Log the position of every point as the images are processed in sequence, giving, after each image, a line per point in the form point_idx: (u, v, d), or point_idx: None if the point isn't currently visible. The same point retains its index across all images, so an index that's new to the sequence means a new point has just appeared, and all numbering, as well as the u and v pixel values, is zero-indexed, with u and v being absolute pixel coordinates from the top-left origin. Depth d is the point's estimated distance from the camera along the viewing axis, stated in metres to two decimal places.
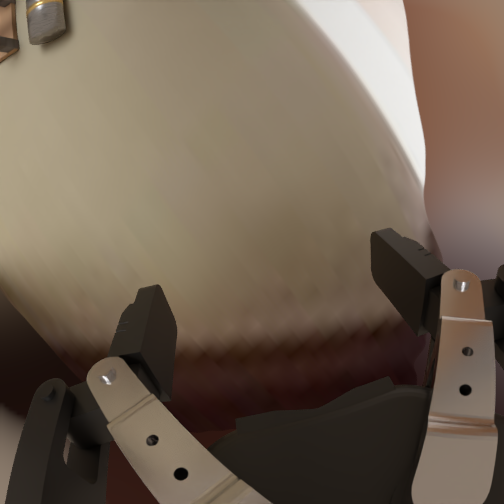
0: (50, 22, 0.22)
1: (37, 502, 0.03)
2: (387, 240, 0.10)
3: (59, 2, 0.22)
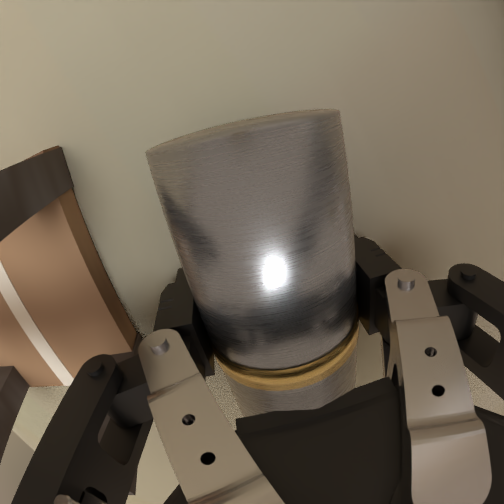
0: None
1: (59, 478, 0.04)
2: None
3: None
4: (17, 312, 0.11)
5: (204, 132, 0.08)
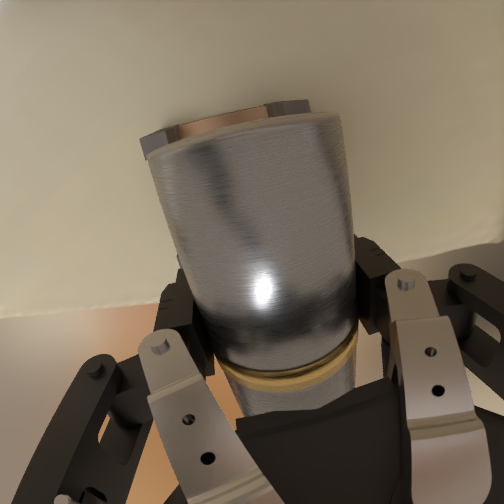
0: None
1: (59, 478, 0.04)
2: None
3: None
4: None
5: (205, 135, 0.08)
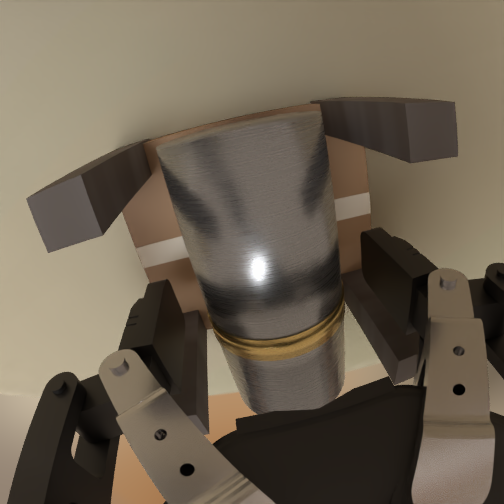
0: (335, 389, 0.12)
1: (41, 496, 0.03)
2: (376, 239, 0.10)
3: None
4: None
5: (206, 131, 0.09)
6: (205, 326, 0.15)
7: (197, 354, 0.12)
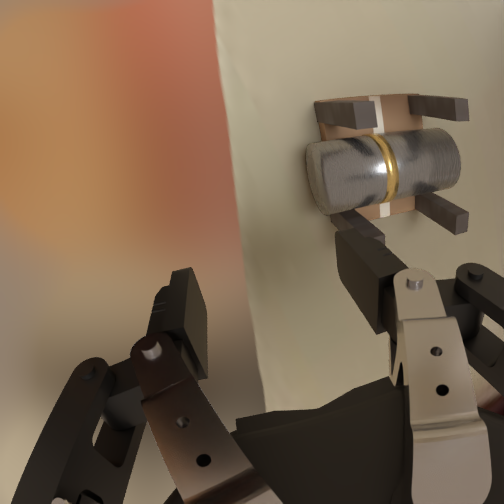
0: (340, 207, 0.19)
1: (55, 481, 0.04)
2: (348, 239, 0.10)
3: None
4: None
5: None
6: (325, 122, 0.21)
7: None
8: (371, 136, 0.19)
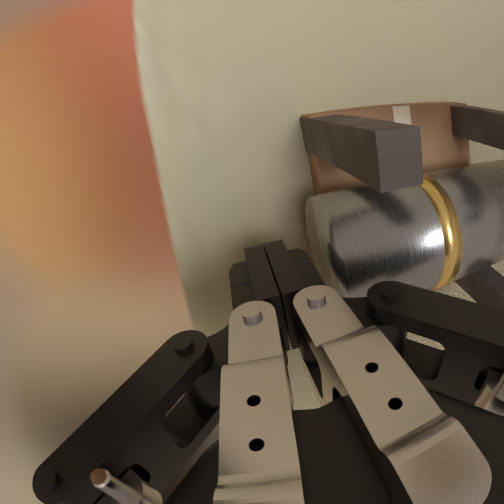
0: None
1: (105, 451, 0.05)
2: (269, 253, 0.11)
3: None
4: None
5: None
6: None
7: None
8: None
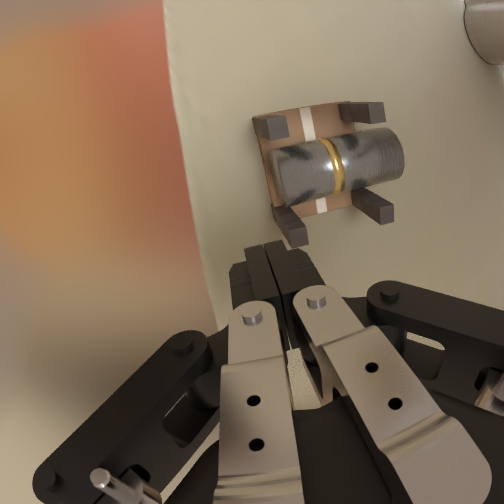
0: (296, 199, 0.24)
1: (105, 451, 0.05)
2: (269, 252, 0.11)
3: None
4: None
5: None
6: None
7: None
8: (320, 140, 0.24)
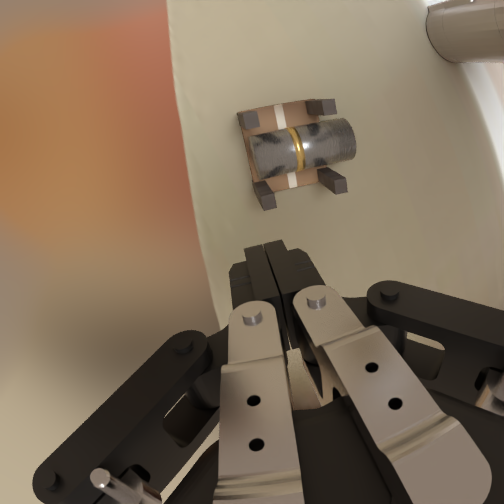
0: (267, 172, 0.32)
1: (105, 451, 0.05)
2: (269, 252, 0.11)
3: (294, 170, 0.34)
4: None
5: None
6: None
7: None
8: (287, 128, 0.31)
